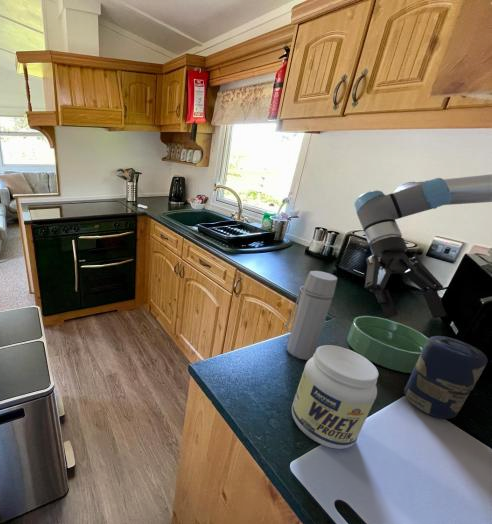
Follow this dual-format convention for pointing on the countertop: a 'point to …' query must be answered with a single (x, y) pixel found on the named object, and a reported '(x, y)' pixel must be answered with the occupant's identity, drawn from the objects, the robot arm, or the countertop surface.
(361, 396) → the supplement tub
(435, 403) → the canister
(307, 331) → the water bottle
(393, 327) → the green pet bowl
